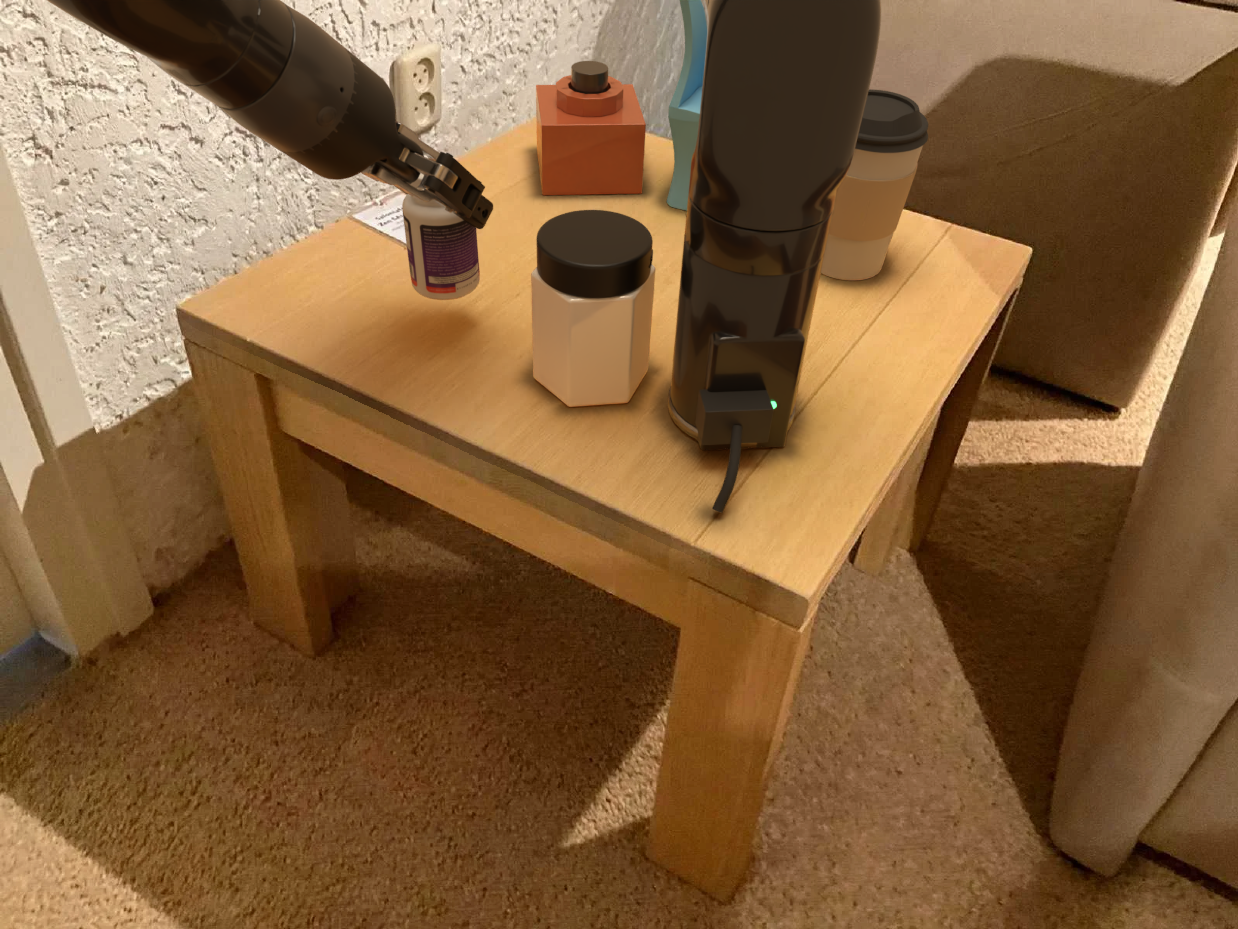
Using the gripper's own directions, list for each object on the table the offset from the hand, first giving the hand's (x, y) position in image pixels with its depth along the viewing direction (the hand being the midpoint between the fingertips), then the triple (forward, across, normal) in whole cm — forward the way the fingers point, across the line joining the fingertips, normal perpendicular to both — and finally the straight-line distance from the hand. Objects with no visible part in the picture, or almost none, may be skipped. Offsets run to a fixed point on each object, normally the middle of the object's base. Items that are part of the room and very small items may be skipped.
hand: (455, 203), depth 76 cm
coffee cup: (+28, -20, -14) cm, 37 cm away
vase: (+30, -3, -15) cm, 33 cm away
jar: (+8, -13, +7) cm, 17 cm away
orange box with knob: (+26, +9, -12) cm, 31 cm away
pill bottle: (+3, 0, +6) cm, 7 cm away
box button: (+20, +9, -18) cm, 29 cm away
